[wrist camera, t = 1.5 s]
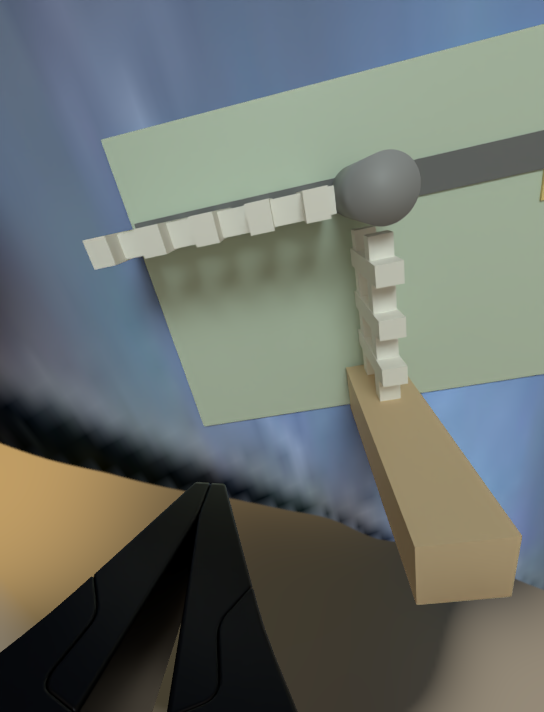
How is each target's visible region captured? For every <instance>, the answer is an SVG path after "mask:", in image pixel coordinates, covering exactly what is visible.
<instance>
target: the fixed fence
mask: <svg viewBox="0 0 544 712" xmlns="http://www.w3.org/2000/svg"><path fill="white" fill-rule="evenodd" d="M420 188H421V177H420V172H419V169H418V167H417V165H416V163H415V161H414V160H413V159H412V158H411V157H410V156H409V155H408V154H406V153H404V152H402V151H399V150H394V149H388V150H382V151H379V152H377V153H375V154H373V155H370V156H368V157H366V158H364V159H362V160H360V161H358V162H355V163H353V164H351V165H349V166H347V167H345V168H343V169H342V170H341V171H340V172H339V173H338V174H337V175H336V177H335V179H334V181H333V183H332V186H328V185H325V186H321V187H317V188H312V189H308V190H303V191H300V192H296V194H293V195H288V196H284V197H280V198H275V199H272V198H268V199H264V200H259V201H255V202H251V203H246V204H244V206H240V207H236V208H226V209H221V210H216V211H211V212H207V213H202V214H198V215H193V216H189V217H186V218H182V219H177V220H172V221H168V222H163V223H158V224H154V225H150V226H145V227H141V228H136V229H133V230H129V231H124V232H119V233H115V234H110V235H106V236H101V237H97V238H92V239H88V240H84V241H83V243H84V246H85V248H86V250H87V253H88V255H89V257H90V260H91V262H92V264H93V267H94V269H95V270H96V269H100V268H105V267H110V266H114V265H118V264H120V263H122V262H125V261H127V260H130V259H132V258H135V257H140V256H144V258H145V259H147V258H151V257H156V256H160V255H165V254H168V253H170V252H172V251H174V250H176V249H178V248H181V247H186V246H191V245H195V244H196V246H197V247H202V246H207V245H211V244H216V243H220V242H221V241H223V240H224V239H225V238H227V237H232V236H237V235H241V234H246V233H250V234H251V236H253V235H258V234H262V233H267V232H271V231H275V227H278V226H283V225H287V224H292V223H296V222H301V221H305V222H306V223H307V224H308V223H313V222H318V221H322V220H327V219H332V218H331V215H333V214H337V212H338V213H339V214H340V215H342V216H344V217H347V218H350V219H353V220H356V221H360V222H363V223H366V224H370V225H373V226H389V225H392V224H394V223H397V222H398V221H400V220H401V219H403V218H404V217H405V216H406V215H407V214H408V213H409V212H410V211H411V210H412V208H413V207H414V205H415V203H416V201H417V199H418V196H419V193H420Z"/></svg>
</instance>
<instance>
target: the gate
mask: <svg viewBox="0 0 544 712" xmlns="http://www.w3.org/2000/svg"><path fill="white" fill-rule="evenodd" d="M351 235H352V246H353V247H352V248H350V253H351V264H352V266H353V267H354V268H355V277H356V287H357V290H356V291H354V294H355V304H356V307H357V309H358V310H359V319H360V329H358V334H359V343H360V345H361V347H362V350H363V360H364V365H358V366H352V367H346V372H347V381H348V389H349V397H350V405H351V410H352V413H353V416H354V419H355V422H356V425H357V428H358V431H359V434H360V437H361V440H362V443H363V446H364V449H365V452H366V455H367V458H368V461H369V464H370V467H371V470H372V473H373V476H374V479H375V482H376V485H377V488H378V491H379V494H380V497H381V500H382V503H383V506H384V509H385V512H386V515H387V518H388V521H389V524H390V527H391V530H392V533H393V536H394V539H395V542H396V545H397V547H398V551H399V554H400V557H401V560H402V562H403V566H404V569H405V572H406V575H407V578H408V580H409V584H410V587H411V590H412V593H413V596H414V599H415V602H416V605H421V604H431V603H444V602H456V601H467V600H479V599H490V598H501V597H511V596H512V590H513V584H514V579H515V573H516V568H517V562H518V556H519V551H520V545H521V540H522V535H521V534H520V532H519V531H518V530H517V528H516V527H515V525H514V524H513V523H512V521H511V520H510V518H509V517H508V516H507V514H506V513H505V511H504V510H503V509H502V507H501V506H500V504H499V503H498V502H497V500H496V499H495V497H494V496H493V495H492V493H491V492H490V490H489V489H488V488H487V486H486V485H485V483H484V482H483V481H482V479H481V478H480V476H479V475H478V474H477V472H476V471H475V469H474V468H473V466H472V465H471V464H470V462H469V461H468V459H467V458H466V457H465V455H464V454H463V452H462V451H461V450H460V448H459V447H458V445H457V444H456V443H455V441H454V440H453V438H452V437H451V436H450V434H449V433H448V431H447V430H446V429H445V427H444V426H443V424H442V423H441V422H440V420H439V419H438V417H437V416H436V415H435V413H434V412H433V410H432V409H431V408H430V406H429V405H428V403H427V402H426V401H425V399H424V398H423V396H422V395H421V394H420V392H419V391H418V389H417V388H416V387H415V385H414V384H413V382H412V381H411V380H410V378H409V377H408V366H407V365H406V363H405V362H404V361H403V359H402V358H401V357H400V355H399V346H398V338H403V337H407V335H406V316H404V315H403V314H402V313H401V312H400V311H399V310H398V309H397V301H396V285H399V284H404V283H405V274H404V260H403V259H401V258H399V257H397V256H395V255H394V234H393V232H392V231H389V230H385V231H380V232H376V226H373V225H370V226H365V227H360V228H355V229H351Z"/></svg>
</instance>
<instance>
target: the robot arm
mask: <svg viewBox="0 0 544 712" xmlns="http://www.w3.org/2000/svg"><path fill="white" fill-rule="evenodd" d="M180 624H181V628H180V634H179V640H178V647H177V653H176V659H175V665H174V672H173V678H172V684H171V690H170V696H169V703H168V709H167V712H297V709H296V707H295V704H294V702H293V699H292V697H291V694H290V692H289V689H288V687H287V685H286V682H285V680H284V677H283V675H282V672H281V670H280V668H279V665H278V663H277V660H276V658H275V655H274V652H273V650H272V647H271V644H270V642H269V639H268V637H267V634H266V631H265V628H264V625H263V622H262V618H261V615H260V612H259V608H258V605H257V601H256V598H255V594H254V590H253V589H252V584H251V580H250V577H249V573H248V569H247V565H246V561H245V558H244V554H243V550H242V546H241V542H240V539H239V535H238V531H237V527H236V523H235V520H234V516H233V512H232V508H231V505H230V501H229V497H228V493H227V489H226V486H225V485H224V484H215V483H212V484H211V485H210V484H209V483H201V482H196V483H194V484H193V485H192V486H191V487H190V488H189V489H188V490H187V491H185V492H184V493H183V494H182V495H181V496H180V497H179V498H178V499H177V500H176V501H175V502H173V503H172V504H171V505H170V506H169V507H168V508H167V509H166V510H165V511H164V512H162V513H161V514H160V515H159V516H158V517H157V518H156V519H155V520H154V521H153V522H151V523H150V524H149V525H148V526H147V527H146V528H145V529H144V530H143V531H142V532H140V533H139V534H138V535H137V536H136V537H135V538H134V539H133V540H132V541H131V542H130V543H128V544H127V545H126V546H125V547H124V548H123V549H122V550H121V551H120V552H118V553H117V554H116V555H115V556H114V557H113V558H112V559H111V560H110V561H109V562H108V563H106V564H105V565H104V566H103V567H102V568H101V569H100V570H99V571H98V572H96V574H94V577H90V578H89V579H88V580H87V581H86V582H85V583H84V584H83V585H81V586H80V587H79V588H78V589H77V590H76V591H75V592H74V593H72V594H71V595H70V596H69V597H68V598H67V599H66V600H64V601H63V602H62V603H61V604H60V605H59V606H58V607H56V608H55V609H54V610H53V611H52V612H51V613H49V614H48V615H47V616H46V617H45V618H43V619H42V620H41V621H40V622H38V623H37V624H36V625H35V626H33V627H32V628H31V629H30V630H28V631H27V632H26V633H25V634H23V635H22V636H21V637H20V638H18V639H17V640H16V641H15V642H13V643H12V644H11V645H9V646H8V647H7V648H6V649H4V650H3V651H2V652H0V712H152V711H153V708H154V705H155V702H156V699H157V696H158V692H159V689H160V686H161V683H162V680H163V677H164V674H165V671H166V668H167V665H168V661H169V658H170V655H171V652H172V649H173V646H174V643H175V640H176V637H177V634H178V630H179V627H180Z"/></svg>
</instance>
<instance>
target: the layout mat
mask: <svg viewBox="0 0 544 712" xmlns="http://www.w3.org/2000/svg"><path fill="white" fill-rule="evenodd" d="M101 142H102V145H103V147H104V150H105V153H106V156H107V158H108V161H109V164H110V167H111V170H112V172H113V175H114V178H115V181H116V183H117V186H118V189H119V192H120V195H121V197H122V200H123V203H124V206H125V208H126V211H127V214H128V217H129V219H130V222H131V225H132V228H133V229H136V228H141V227H145V226H150V225H154V224H158V223H163V222H168V221H172V220H177V219H182V218H186V217H189V216H193V215H198V214H202V213H207V212H211V211H216V210H221V209H226V208H236V207H240V206H244V204H246V203H251V202H255V201H259V200H264V199H268V198H272V199H275V198H280V197H284V196H288V195H293V194H296V192H300V191H303V190H308V189H312V188H317V187H321V186H325V185H328V186H332V183H333V181H334V179H335V177H336V175H337V174H338V173H339V172H340V171H341V170H342V169H343V168H345V167H347V166H349V165H351V164H353V163H355V162H358V161H360V160H362V159H364V158H366V157H368V156H370V155H373V154H375V153H377V152H379V151H382V150H388V149H394V150H399V151H402V152H404V153H406V154H408V155H409V156H410V157H411V158H412V159H413V160H414V161H415V163H416V165H417V167H418V169H419V172H420V177H421V188H420V193H419V196H418V199H417V201H416V203H415V205H414V207H413V208H412V210H411V211H410V212H409V213H408V214H407V215H406V216H405V217H404V218H403V219H401V220H400V221H398V222H397V223H394V224H392V225H389V226H376V232H380V231H385V230H389V231H392V232H393V234H394V255H395V256H397V257H399V258H401V259H403V260H404V274H405V283H404V284H399V285H396V301H397V309H398V310H399V311H400V312H401V313H402V314H403V315H404V316H406V335H407V337H403V338H398V346H399V355H400V357H401V358H402V359H403V361H404V362H405V363H406V365H407V366H408V377H409V378H410V380H411V381H412V382H413V384H414V385H415V387H416V388H417V389H418V391H419V392H420V393H423V392H430V391H436V390H443V389H449V388H456V387H462V386H469V385H475V384H482V383H488V382H494V381H501V380H507V379H514V378H520V377H527V376H533V375H540V374H544V24H542V25H538V26H534V27H530V28H527V29H523V30H519V31H515V32H511V33H507V34H504V35H500V36H496V37H492V38H488V39H484V40H481V41H477V42H473V43H469V44H465V45H462V46H458V47H454V48H450V49H446V50H442V51H439V52H435V53H431V54H427V55H423V56H420V57H416V58H412V59H408V60H404V61H400V62H397V63H393V64H389V65H385V66H381V67H378V68H374V69H370V70H366V71H362V72H358V73H355V74H351V75H347V76H343V77H339V78H335V79H332V80H328V81H324V82H320V83H316V84H313V85H309V86H305V87H301V88H297V89H293V90H290V91H286V92H282V93H278V94H274V95H271V96H267V97H263V98H259V99H255V100H251V101H248V102H244V103H240V104H236V105H232V106H228V107H225V108H221V109H217V110H213V111H209V112H206V113H202V114H198V115H194V116H190V117H186V118H183V119H179V120H175V121H171V122H167V123H164V124H160V125H156V126H152V127H148V128H144V129H141V130H137V131H133V132H129V133H125V134H122V135H118V136H114V137H110V138H106V139H102V140H101ZM331 218H332V219H327V220H322V221H318V222H313V223H308V224H307V223H306V222H305V221H301V222H296V223H292V224H287V225H283V226H278V227H275V231H271V232H267V233H262V234H258V235H253V236H251V234H250V233H246V234H241V235H237V236H232V237H227V238H225V239H224V240H223V241H221V242H220V243H216V244H211V245H207V246H202V247H197V246H196V244H195V245H191V246H186V247H181V248H178V249H176V250H174V251H172V252H170V253H168V254H165V255H160V256H156V257H151V258H147V259H145V258H144V256H143V258H144V261H145V264H146V267H147V269H148V272H149V275H150V278H151V280H152V283H153V286H154V289H155V291H156V294H157V297H158V300H159V303H160V305H161V308H162V311H163V314H164V316H165V319H166V322H167V325H168V328H169V330H170V333H171V336H172V339H173V341H174V344H175V347H176V350H177V352H178V355H179V358H180V361H181V364H182V366H183V369H184V372H185V375H186V377H187V380H188V383H189V386H190V388H191V391H192V394H193V397H194V400H195V402H196V405H197V408H198V411H199V413H200V416H201V419H202V422H203V424H204V426H210V425H217V424H223V423H229V422H236V421H242V420H249V419H255V418H262V417H268V416H275V415H281V414H288V413H294V412H301V411H307V410H313V409H320V408H326V407H333V406H339V405H346V404H350V397H349V389H348V381H347V372H346V367H352V366H358V365H364V360H363V350H362V347H361V345H360V343H359V334H358V329H360V319H359V310H358V309H357V307H356V304H355V294H354V291H356V290H357V287H356V277H355V268H354V267H353V266H352V264H351V253H350V248H352V247H353V246H352V235H351V229H355V228H360V227H365V226H370V224H366V223H363V222H360V221H356V220H353V219H350V218H347V217H344V216H342V215H340V214H339V213H338V212H337V214H333V215H331Z"/></svg>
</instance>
